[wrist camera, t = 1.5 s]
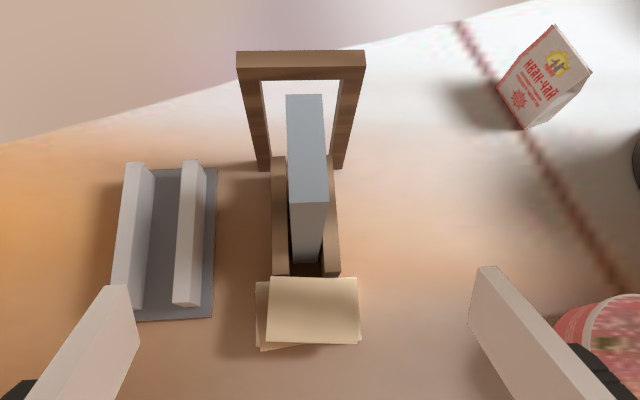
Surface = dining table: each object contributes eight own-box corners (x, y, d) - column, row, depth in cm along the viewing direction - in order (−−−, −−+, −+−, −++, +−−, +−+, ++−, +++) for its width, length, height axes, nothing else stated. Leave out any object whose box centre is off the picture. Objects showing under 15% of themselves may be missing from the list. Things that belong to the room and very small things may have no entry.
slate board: (317, 262, 41) (329, 201, 24) (293, 263, 41) (289, 203, 24) (312, 192, 44) (321, 94, 27) (290, 192, 43) (285, 94, 27)
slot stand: (211, 317, 38) (200, 313, 34) (117, 322, 38) (93, 319, 33) (217, 170, 44) (208, 150, 39) (136, 173, 43) (117, 153, 39)
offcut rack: (359, 345, 38) (405, 342, 22) (257, 352, 37) (225, 354, 21) (343, 157, 45) (367, 49, 29) (257, 159, 45) (232, 51, 28)
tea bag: (519, 79, 51) (568, 19, 42) (547, 121, 49) (606, 67, 39) (495, 87, 50) (539, 28, 41) (523, 130, 48) (577, 77, 39)
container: (526, 300, 40) (577, 289, 33) (624, 306, 41) (696, 297, 33) (541, 413, 37) (603, 430, 29) (649, 419, 37) (737, 437, 30)
